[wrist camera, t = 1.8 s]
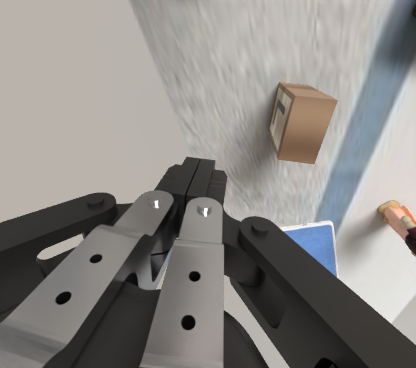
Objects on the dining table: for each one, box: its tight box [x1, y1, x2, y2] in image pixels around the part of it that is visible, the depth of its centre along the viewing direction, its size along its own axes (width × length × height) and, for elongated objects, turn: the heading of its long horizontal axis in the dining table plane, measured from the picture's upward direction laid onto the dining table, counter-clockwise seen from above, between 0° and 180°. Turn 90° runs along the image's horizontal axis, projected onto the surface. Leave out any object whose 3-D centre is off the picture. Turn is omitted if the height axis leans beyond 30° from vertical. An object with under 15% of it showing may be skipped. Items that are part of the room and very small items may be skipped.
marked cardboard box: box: [269, 82, 338, 164], centre depth 25 cm, size 6×4×10 cm, turn 175°
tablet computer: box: [280, 221, 339, 279], centre depth 42 cm, size 19×13×1 cm, turn 19°
